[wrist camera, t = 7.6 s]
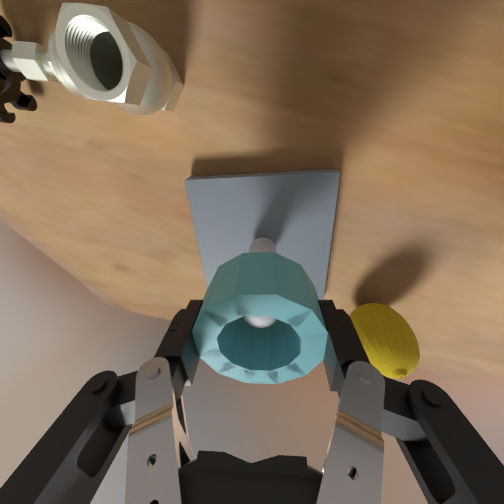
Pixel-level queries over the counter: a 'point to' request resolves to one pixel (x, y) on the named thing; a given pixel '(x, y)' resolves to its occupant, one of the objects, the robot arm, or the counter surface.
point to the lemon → (386, 339)
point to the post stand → (265, 220)
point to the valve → (91, 63)
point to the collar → (261, 304)
